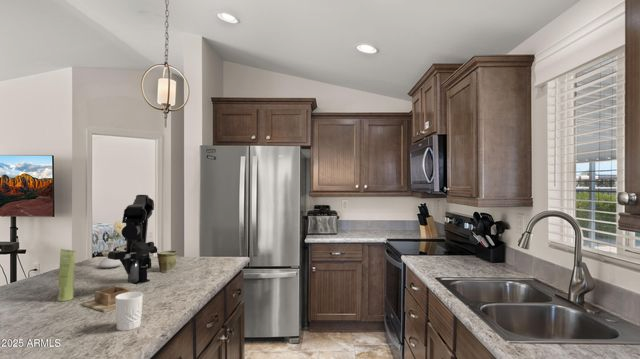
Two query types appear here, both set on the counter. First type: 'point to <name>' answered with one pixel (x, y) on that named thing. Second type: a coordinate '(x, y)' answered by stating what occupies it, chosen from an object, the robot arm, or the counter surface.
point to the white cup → (128, 310)
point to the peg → (133, 271)
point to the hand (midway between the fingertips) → (133, 272)
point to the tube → (66, 275)
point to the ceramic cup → (167, 260)
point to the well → (106, 298)
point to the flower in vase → (110, 262)
